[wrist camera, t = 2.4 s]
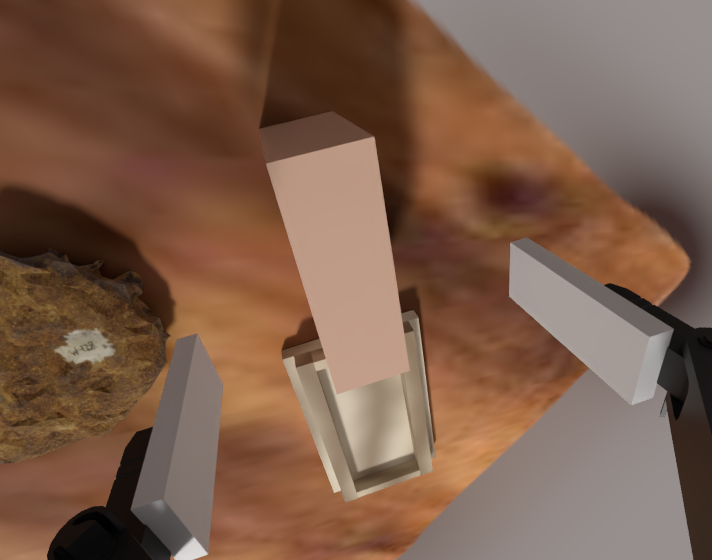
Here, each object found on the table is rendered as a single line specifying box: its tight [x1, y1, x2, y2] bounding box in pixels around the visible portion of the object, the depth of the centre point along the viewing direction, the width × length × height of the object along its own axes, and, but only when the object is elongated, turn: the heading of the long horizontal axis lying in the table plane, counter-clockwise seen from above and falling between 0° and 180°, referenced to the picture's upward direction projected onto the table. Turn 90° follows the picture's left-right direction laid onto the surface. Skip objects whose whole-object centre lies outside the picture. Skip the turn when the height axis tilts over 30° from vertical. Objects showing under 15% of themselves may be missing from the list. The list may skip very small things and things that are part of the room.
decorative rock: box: [0, 248, 170, 464], centre depth 22 cm, size 11×4×15 cm
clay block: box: [259, 111, 410, 394], centre depth 20 cm, size 12×4×8 cm, turn 11°
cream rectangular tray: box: [281, 310, 435, 502], centre depth 32 cm, size 10×17×2 cm, turn 11°
